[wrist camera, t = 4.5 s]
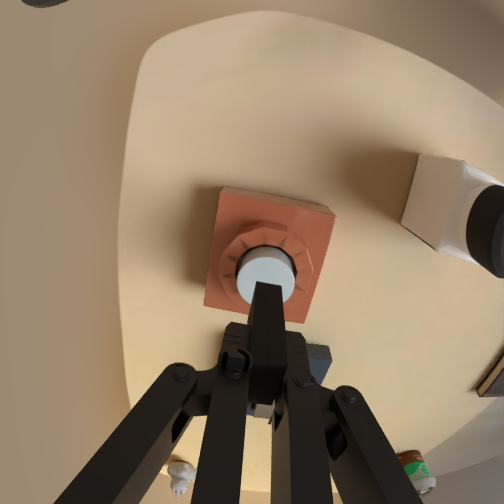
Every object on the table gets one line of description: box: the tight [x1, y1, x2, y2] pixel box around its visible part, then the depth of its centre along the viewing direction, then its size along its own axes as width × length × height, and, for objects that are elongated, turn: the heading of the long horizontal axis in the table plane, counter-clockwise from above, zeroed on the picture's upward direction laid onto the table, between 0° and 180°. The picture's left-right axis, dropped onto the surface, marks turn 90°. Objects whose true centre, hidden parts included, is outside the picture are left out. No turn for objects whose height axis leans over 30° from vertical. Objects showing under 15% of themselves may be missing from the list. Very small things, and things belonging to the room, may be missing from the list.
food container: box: [397, 450, 436, 498], centre depth 36 cm, size 12×6×10 cm, turn 58°
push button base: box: [246, 344, 332, 416], centre depth 30 cm, size 11×10×4 cm
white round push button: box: [237, 247, 295, 304], centre depth 21 cm, size 4×4×2 cm
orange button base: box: [204, 186, 336, 324], centre depth 24 cm, size 10×9×5 cm
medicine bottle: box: [401, 154, 504, 278], centre depth 18 cm, size 7×7×12 cm
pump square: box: [253, 400, 275, 419], centre depth 28 cm, size 4×4×2 cm
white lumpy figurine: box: [167, 462, 197, 497], centre depth 38 cm, size 5×7×8 cm
